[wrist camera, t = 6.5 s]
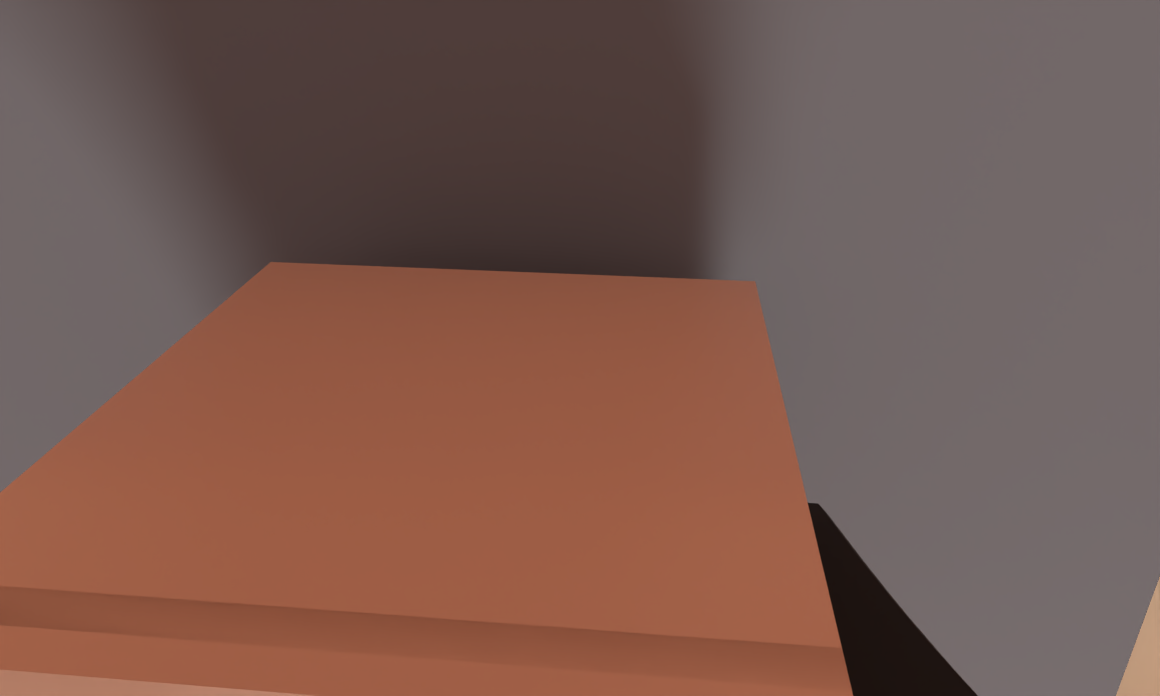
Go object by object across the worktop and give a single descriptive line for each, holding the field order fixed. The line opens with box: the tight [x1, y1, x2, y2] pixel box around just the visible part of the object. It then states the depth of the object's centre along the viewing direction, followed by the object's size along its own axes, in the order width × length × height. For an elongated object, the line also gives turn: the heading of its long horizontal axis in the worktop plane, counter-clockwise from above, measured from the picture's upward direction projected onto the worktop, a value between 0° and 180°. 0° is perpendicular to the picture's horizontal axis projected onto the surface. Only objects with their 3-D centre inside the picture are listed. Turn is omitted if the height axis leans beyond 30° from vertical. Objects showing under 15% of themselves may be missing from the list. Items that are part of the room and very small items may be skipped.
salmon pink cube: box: [0, 262, 853, 696], centre depth 8 cm, size 6×6×6 cm
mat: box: [0, 0, 1160, 696], centre depth 12 cm, size 18×13×1 cm
